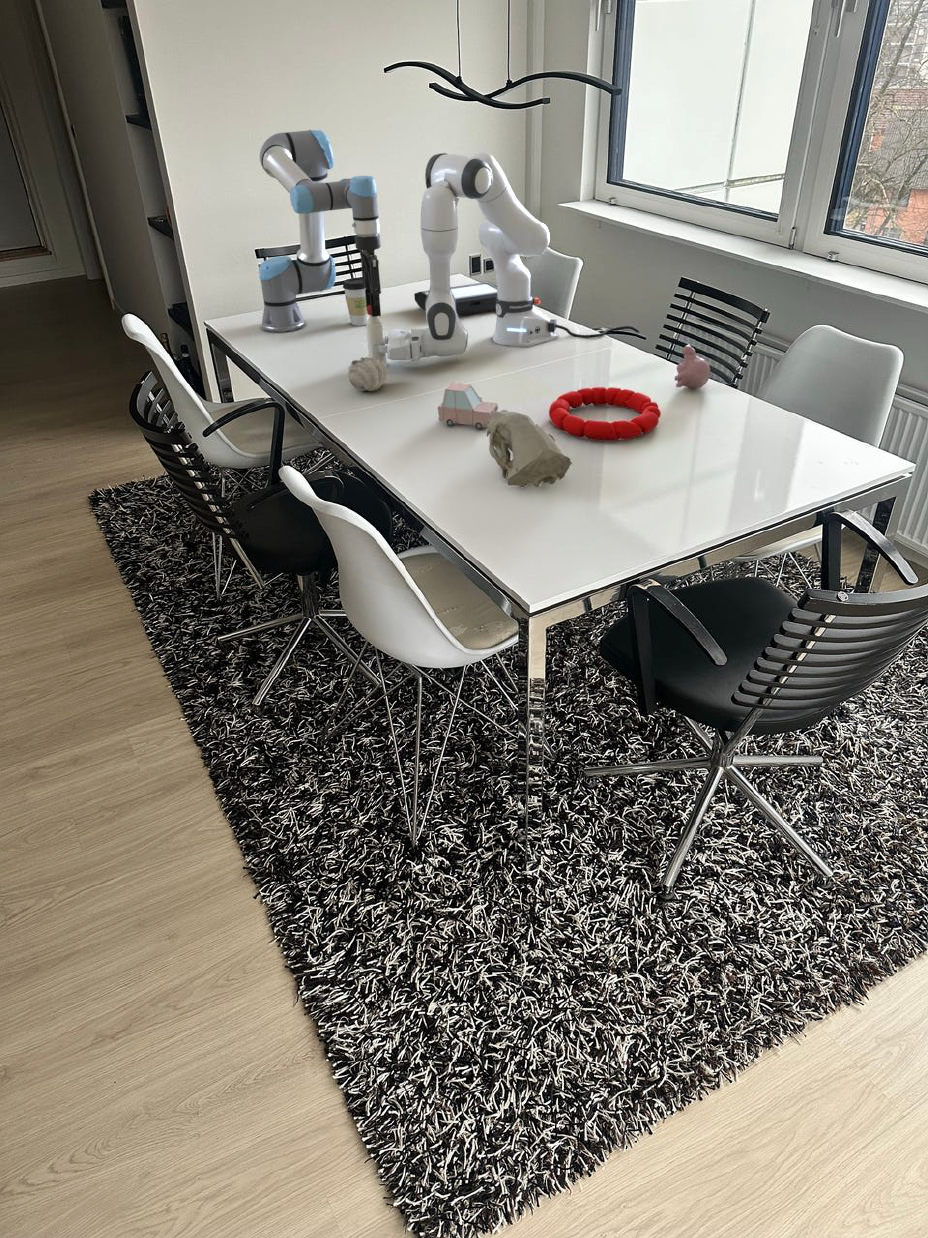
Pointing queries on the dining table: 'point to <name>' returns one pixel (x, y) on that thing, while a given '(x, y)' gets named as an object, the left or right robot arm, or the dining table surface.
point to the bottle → (375, 337)
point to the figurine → (692, 370)
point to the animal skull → (525, 450)
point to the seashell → (367, 374)
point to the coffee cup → (356, 301)
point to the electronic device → (468, 298)
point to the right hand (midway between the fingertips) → (373, 344)
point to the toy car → (465, 406)
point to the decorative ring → (604, 428)
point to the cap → (369, 310)
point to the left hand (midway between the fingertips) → (373, 312)
